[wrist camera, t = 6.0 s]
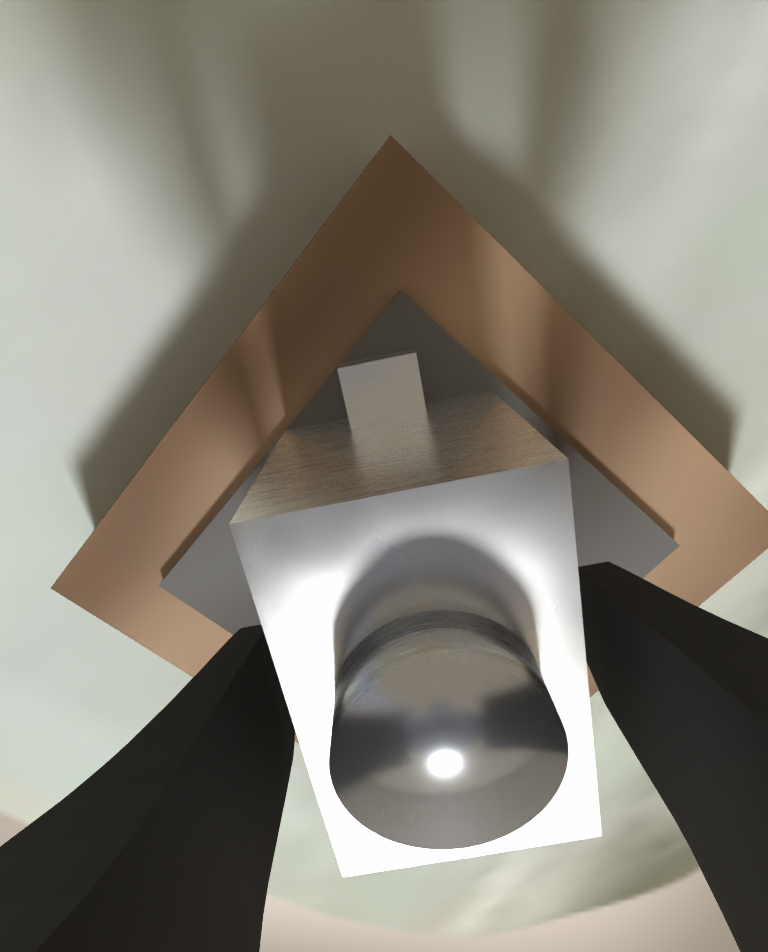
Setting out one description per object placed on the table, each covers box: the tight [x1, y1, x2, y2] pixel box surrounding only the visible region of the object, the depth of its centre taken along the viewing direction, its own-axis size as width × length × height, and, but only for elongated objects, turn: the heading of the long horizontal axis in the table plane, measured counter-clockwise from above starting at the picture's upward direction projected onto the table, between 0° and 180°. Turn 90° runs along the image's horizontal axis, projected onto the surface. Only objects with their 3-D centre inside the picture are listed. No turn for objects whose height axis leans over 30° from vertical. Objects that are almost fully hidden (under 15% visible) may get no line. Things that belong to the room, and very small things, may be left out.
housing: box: [229, 348, 602, 877], centre depth 10 cm, size 5×9×6 cm, turn 11°
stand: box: [51, 135, 768, 744], centre depth 15 cm, size 13×13×3 cm
